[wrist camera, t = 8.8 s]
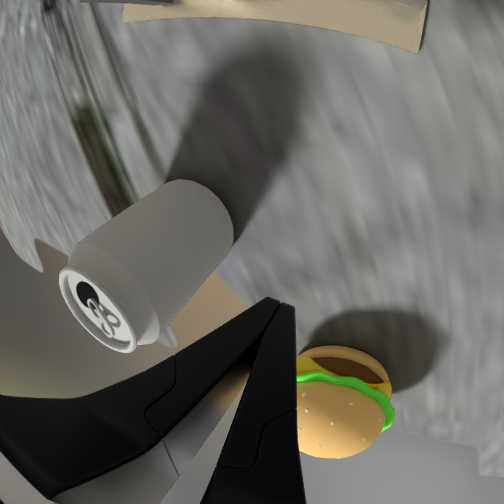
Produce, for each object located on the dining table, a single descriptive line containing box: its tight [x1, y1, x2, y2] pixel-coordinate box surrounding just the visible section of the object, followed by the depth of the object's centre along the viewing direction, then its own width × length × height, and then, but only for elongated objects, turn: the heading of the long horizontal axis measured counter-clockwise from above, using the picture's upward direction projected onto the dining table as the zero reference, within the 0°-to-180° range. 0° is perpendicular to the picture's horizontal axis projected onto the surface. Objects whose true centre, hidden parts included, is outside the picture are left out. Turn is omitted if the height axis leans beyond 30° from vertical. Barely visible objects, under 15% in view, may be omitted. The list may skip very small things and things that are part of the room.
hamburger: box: [296, 345, 395, 459], centre depth 25 cm, size 12×12×9 cm
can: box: [59, 179, 234, 353], centre depth 20 cm, size 8×8×12 cm
